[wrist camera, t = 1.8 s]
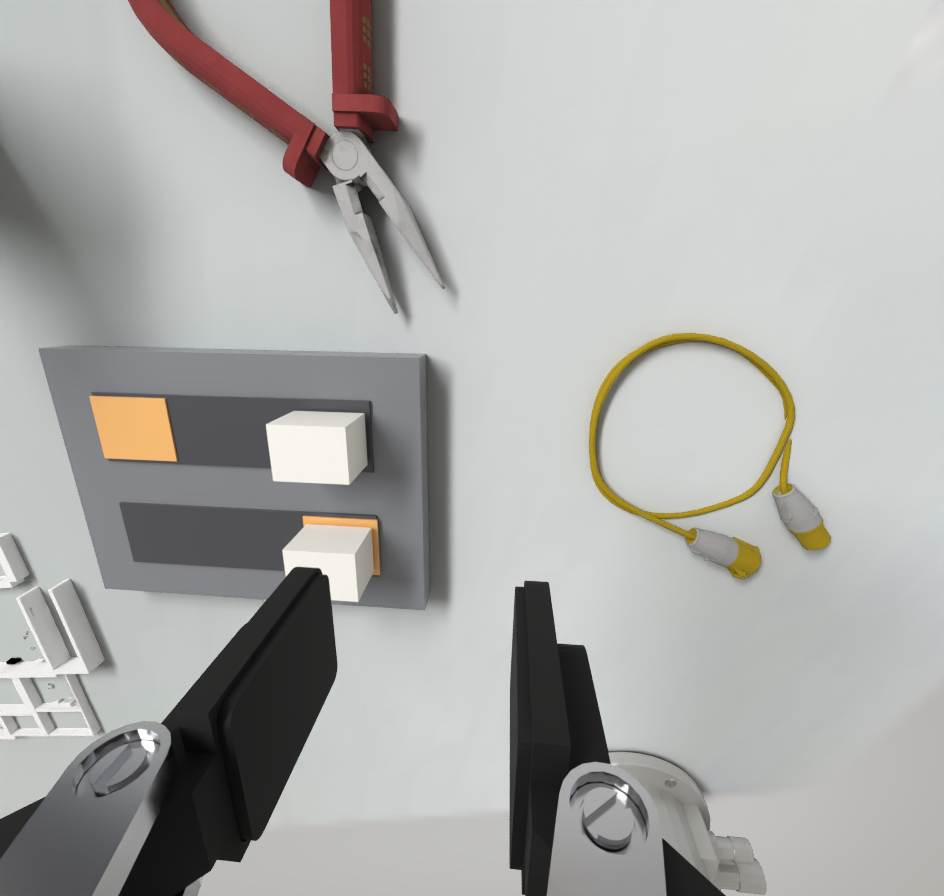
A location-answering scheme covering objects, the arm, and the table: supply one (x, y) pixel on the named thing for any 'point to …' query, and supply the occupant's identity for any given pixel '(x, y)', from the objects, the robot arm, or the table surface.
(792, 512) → the extension cord
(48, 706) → the floor plan model
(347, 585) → the tab
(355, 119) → the pliers
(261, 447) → the switch panel
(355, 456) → the tab
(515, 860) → the robot arm
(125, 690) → the table surface
